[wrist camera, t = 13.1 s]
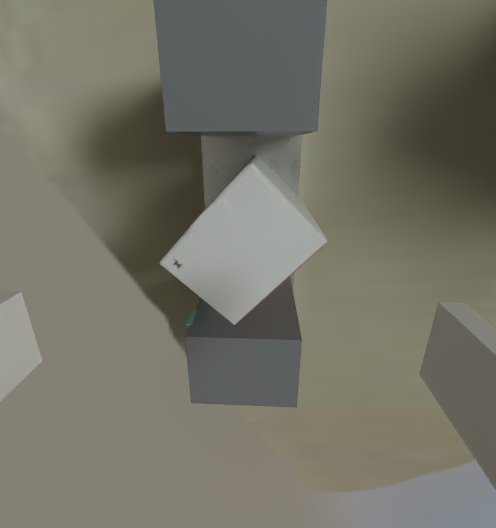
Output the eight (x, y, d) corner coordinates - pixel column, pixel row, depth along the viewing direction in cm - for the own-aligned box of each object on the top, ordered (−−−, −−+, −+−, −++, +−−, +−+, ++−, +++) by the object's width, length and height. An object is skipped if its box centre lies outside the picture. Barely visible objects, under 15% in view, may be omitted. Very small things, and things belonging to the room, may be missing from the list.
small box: (245, 257, 32) (233, 329, 19) (199, 215, 30) (154, 264, 18) (303, 201, 29) (331, 242, 17) (255, 152, 28) (248, 159, 16)
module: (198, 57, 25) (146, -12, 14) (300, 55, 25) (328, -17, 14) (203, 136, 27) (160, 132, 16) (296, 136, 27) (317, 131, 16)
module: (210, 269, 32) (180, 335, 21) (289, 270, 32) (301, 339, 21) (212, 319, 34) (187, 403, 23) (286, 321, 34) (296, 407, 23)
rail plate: (199, 48, 26) (195, 43, 25) (304, 46, 26) (307, 41, 24) (213, 311, 36) (210, 318, 34) (290, 313, 35) (291, 320, 34)
